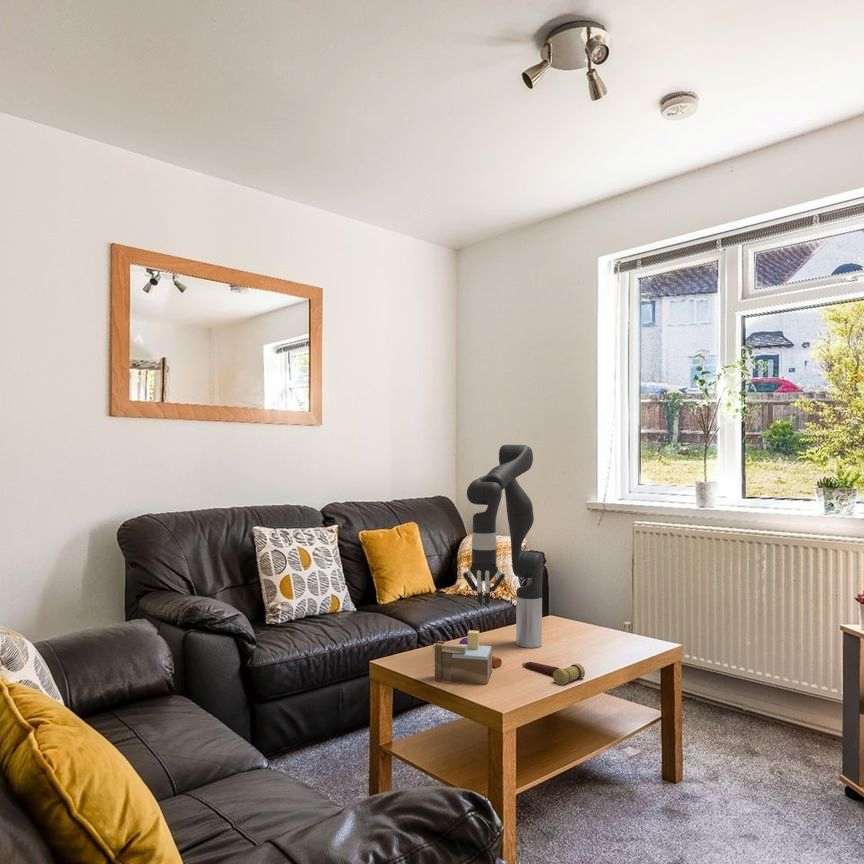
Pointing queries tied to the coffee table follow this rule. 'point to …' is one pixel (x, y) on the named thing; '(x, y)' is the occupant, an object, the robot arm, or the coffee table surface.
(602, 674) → the coffee table surface
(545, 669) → the gavel
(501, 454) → the robot arm
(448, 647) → the beige wooden bar
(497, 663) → the kendama
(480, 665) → the toolbox
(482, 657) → the lid
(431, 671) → the coffee table surface
